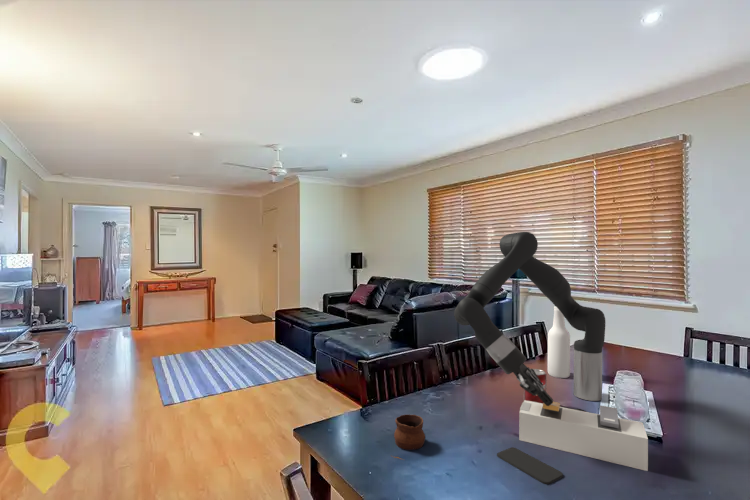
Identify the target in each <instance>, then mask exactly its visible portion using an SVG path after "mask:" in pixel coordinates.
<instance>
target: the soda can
mask: <svg viewBox="0 0 750 500" xmlns="http://www.w3.org/2000/svg"><path fill="white" fill-rule="evenodd" d="M532 369H533V370H534V372H535V373H536V375H537V376H538V378H539V379H540V381H541V382H542V384H543V388H544V389H543V390H545V391H546V392H547V381H548V380H547V373H546V372H545V370H543V369H538V368H532ZM524 400H526V401H532V402H537V403H542V404H543V403H544V402H543V401H542V400H541V399H540V398H539V397H538V395H537V396H536V395H535V396H533V395H532V394H530V393H529V392H528V391H526V390H525V389H523V401H524Z"/></svg>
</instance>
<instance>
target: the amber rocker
mask: <svg viewBox="0 0 750 500" xmlns="http://www.w3.org/2000/svg"><path fill="white" fill-rule="evenodd" d="M560 407H561V403H560V402H555V401H553V403H552V404H551V405H549V406H546V405H545V403H543V408H544V409H549V410H554V411H559V409H560Z"/></svg>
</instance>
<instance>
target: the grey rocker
mask: <svg viewBox="0 0 750 500" xmlns="http://www.w3.org/2000/svg"><path fill="white" fill-rule="evenodd" d="M599 414H600V423H601V425H603V426H608V427H613V428H618V429H619V423H618V418H619V417H618V408H617V407H612V406H611V407H610V406H606V405H601V404H600V405H599Z"/></svg>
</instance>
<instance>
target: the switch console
mask: <svg viewBox="0 0 750 500" xmlns="http://www.w3.org/2000/svg"><path fill="white" fill-rule="evenodd" d="M574 409H575V408H567V407H562V406H560V409H559V411H554V410H549V409H544V408H543V404H542V403H537V402H532V401H526V400H524V399H523V402H521V405H520V407H519V414H518V415H519V416H518V420H519V422H518V424H519V426H518V430H519V431H518V432H519V433H518V437H519V438H518V440H519V441H521V442H525V443H530V444H533V445H538V446H542V447H547V448H550V449H554V450H555V449H556V450H559V451H562V452H566V453H571V454H575V455H580V456H584V457H588V458H592V459H597V460H599V461H600V460H601V461H603V462H607V463H612V464H617V465H620V466H625V467H630V468H633V469H638V470H641V471H645V472H648V471H649V438H648V435H647V432H646V429H645V426H644V423H643V422H641V421H636V420H630V419H626V418H622V417H621V418H619V417H618V423H619V429H618V428H613V427H608V426H603V425H601V423H600V413H596V412H595V413H593V412H590V411H589V412H588V411H586V412H584V411H585V410H584V411H579V410H574Z"/></svg>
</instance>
